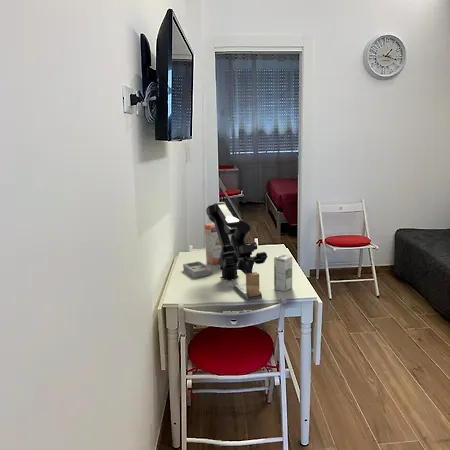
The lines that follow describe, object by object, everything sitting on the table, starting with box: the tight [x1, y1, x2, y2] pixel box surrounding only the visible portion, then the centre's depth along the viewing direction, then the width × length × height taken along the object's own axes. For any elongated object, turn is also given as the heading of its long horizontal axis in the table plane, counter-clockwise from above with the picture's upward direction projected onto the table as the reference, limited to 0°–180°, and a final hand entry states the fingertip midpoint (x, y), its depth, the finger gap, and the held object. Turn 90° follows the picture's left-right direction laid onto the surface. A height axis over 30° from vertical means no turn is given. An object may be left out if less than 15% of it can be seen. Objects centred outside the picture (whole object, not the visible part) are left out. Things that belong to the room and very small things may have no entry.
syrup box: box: [273, 253, 293, 292], centre depth 187 cm, size 6×6×14 cm
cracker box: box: [203, 222, 232, 266], centre depth 230 cm, size 14×6×21 cm, turn 133°
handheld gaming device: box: [182, 260, 211, 279], centre depth 215 cm, size 9×15×4 cm, turn 27°
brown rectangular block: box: [245, 271, 261, 297], centre depth 178 cm, size 3×5×9 cm, turn 109°
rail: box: [233, 283, 263, 302], centre depth 185 cm, size 16×6×3 cm, turn 20°
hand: (250, 278), depth 179 cm, fingers closed, pressing on brown rectangular block
